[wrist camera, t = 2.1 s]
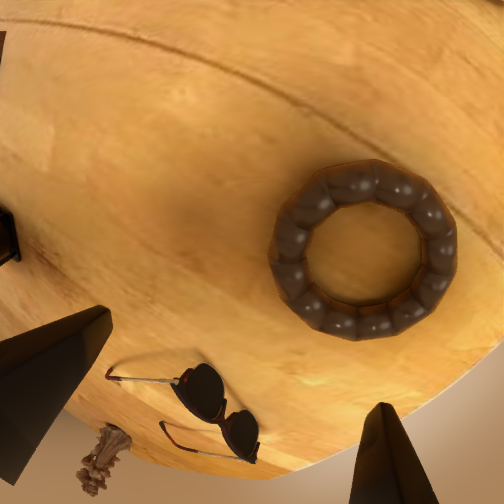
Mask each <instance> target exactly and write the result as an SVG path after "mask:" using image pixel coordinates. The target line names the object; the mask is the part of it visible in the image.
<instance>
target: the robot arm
mask: <svg viewBox="0 0 504 504" xmlns="http://www.w3.org/2000/svg"><path fill="white" fill-rule="evenodd" d="M10 259H13V260H14V261H16V262H17V263H18V262H20V261H21V257H20V253H19V248H18V243H17V238H16V233H15V227H14V221H13V216H12V214H11V213H10V212H8V211H6V210H4V209H2V208H0V266H2V265H3V264H5V263H6V262H8V261H9V260H10ZM112 329H113V323H112V316H111V311H110V309H108V308H107V307H105V306H103V305H97V306H94V307H91V308H89V309H86V310H83V311H81V312H78V313H75V314H73V315H70V316H67V317H65V318H62V319H59V320H57V321H54V322H51V323H49V324H46V325H43V326H41V327H38V328H35V329H33V330H30V331H27V332H25V333H22V334H19V335H17V336H14V337H12V338H9V339H6V340H3V341H1V342H0V478H2V479H3V480H5V481H6V482H8V483H9V484H11V485H13V486H14V484H15V483H16V481H17V480H18V478H19V476H20V475H21V473H22V471H23V470H24V468H25V466H26V465H27V463H28V461H29V460H30V458H31V457H32V455H33V453H34V452H35V450H36V448H37V447H38V445H39V444H40V442H41V440H42V439H43V437H44V436H45V434H46V433H47V431H48V429H49V428H50V426H51V425H52V423H53V422H54V420H55V419H56V417H57V416H58V414H59V413H60V411H61V410H62V409H63V407H64V406H65V404H66V403H67V401H68V400H69V398H70V397H71V395H72V394H73V392H74V391H75V390H76V388H77V387H78V385H79V384H80V383H81V381H82V380H83V378H84V377H85V375H86V374H87V373H88V371H89V370H90V368H91V367H92V365H93V364H94V362H95V360H96V359H97V357H98V355H99V353H100V351H101V350H102V348H103V346H104V344H105V343H106V341H107V339H108V338H109V336H110V334H111V332H112ZM349 504H439V502H438V500H437V498H436V495H435V493H434V491H433V489H432V487H431V484H430V482H429V480H428V478H427V475H426V473H425V471H424V469H423V467H422V465H421V463H420V460H419V458H418V456H417V454H416V452H415V450H414V448H413V446H412V444H411V442H410V440H409V437H408V435H407V434H406V431H405V429H404V427H403V425H402V423H401V421H400V419H399V417H398V415H397V413H396V411H395V409H394V407H393V406H392V405H391V404H389V403H384V402H380V403H378V404H377V405H376V406H375V407H374V408H373V409H372V410H371V412H370V413H369V414H368V415H367V417H366V419H365V423H364V427H363V432H362V436H361V441H360V445H359V449H358V453H357V457H356V462H355V469H354V476H353V482H352V488H351V494H350V500H349Z"/></svg>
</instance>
